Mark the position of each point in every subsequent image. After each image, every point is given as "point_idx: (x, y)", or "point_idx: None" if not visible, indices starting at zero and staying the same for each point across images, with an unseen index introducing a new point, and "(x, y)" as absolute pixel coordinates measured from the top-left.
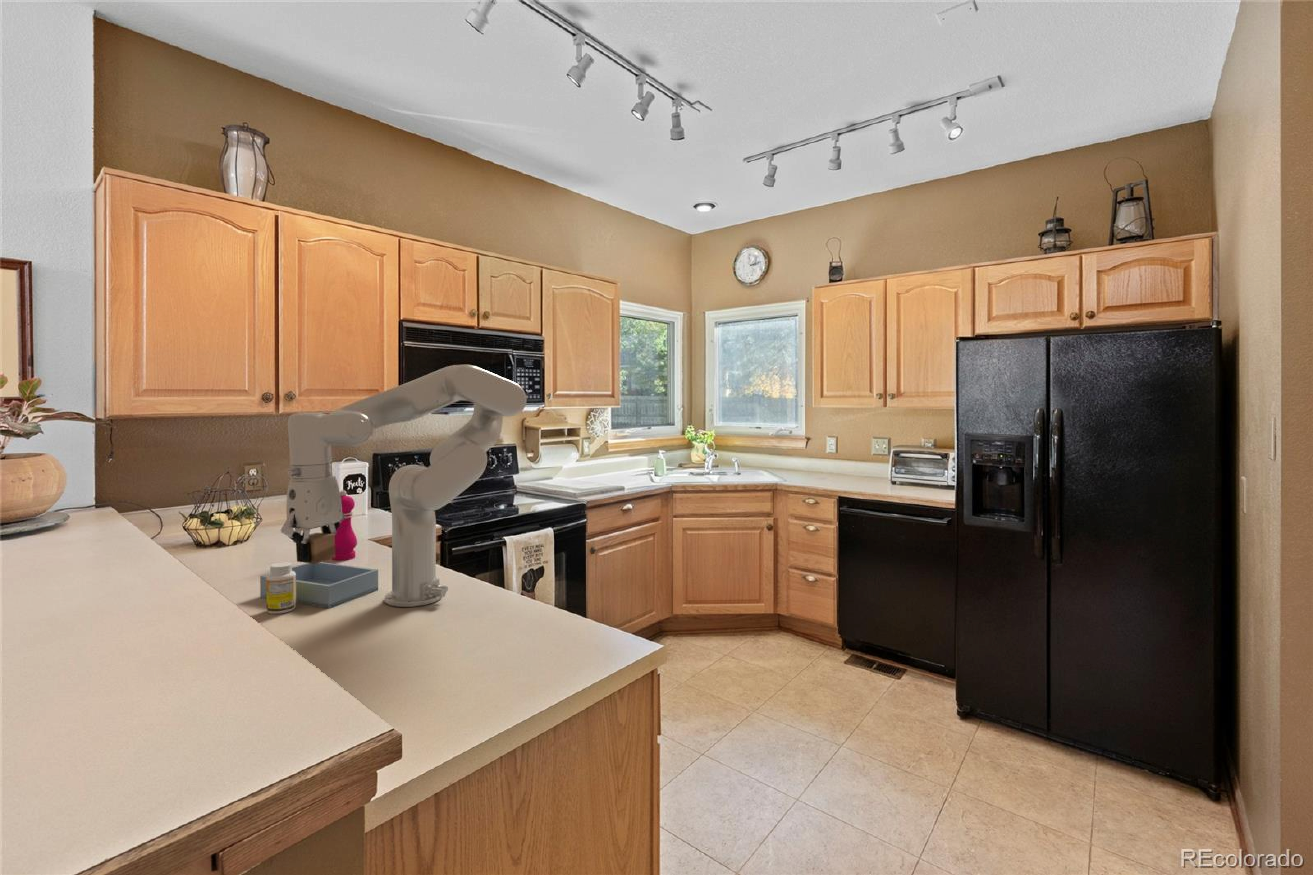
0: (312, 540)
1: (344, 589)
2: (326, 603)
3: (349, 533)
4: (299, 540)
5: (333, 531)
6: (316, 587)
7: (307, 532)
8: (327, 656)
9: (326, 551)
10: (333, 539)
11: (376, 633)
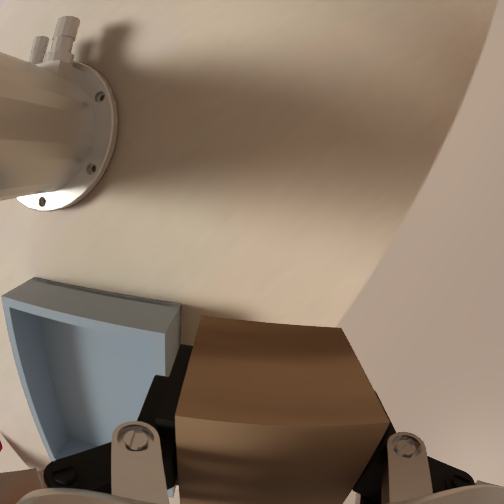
0: (381, 430)
1: (115, 310)
2: (178, 316)
3: None
4: (428, 459)
5: (133, 449)
6: (167, 370)
7: (409, 492)
8: (448, 88)
9: (266, 350)
10: (193, 387)
11: (311, 50)
